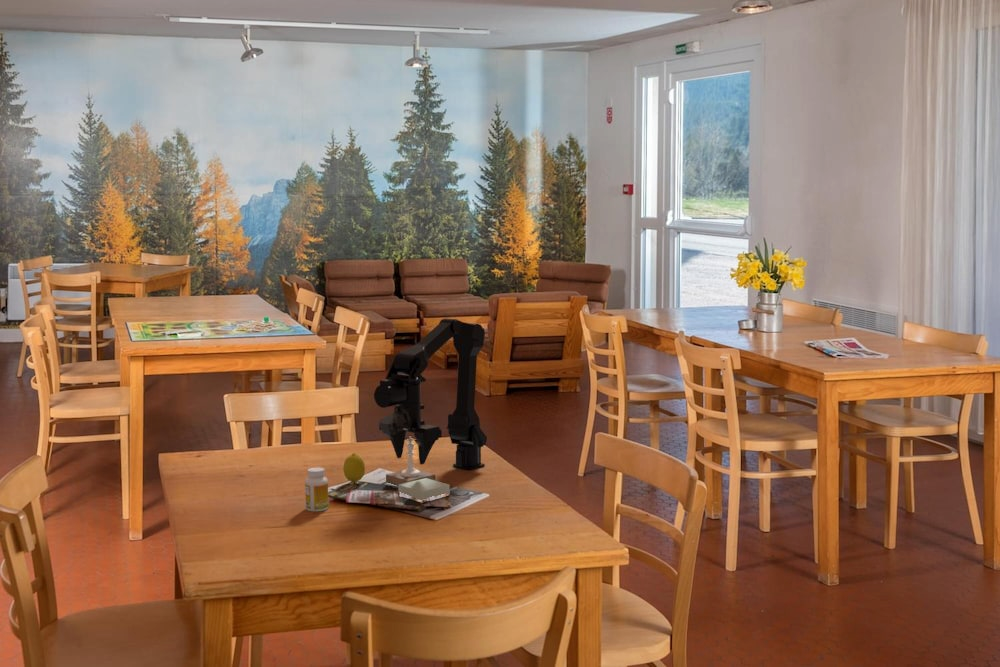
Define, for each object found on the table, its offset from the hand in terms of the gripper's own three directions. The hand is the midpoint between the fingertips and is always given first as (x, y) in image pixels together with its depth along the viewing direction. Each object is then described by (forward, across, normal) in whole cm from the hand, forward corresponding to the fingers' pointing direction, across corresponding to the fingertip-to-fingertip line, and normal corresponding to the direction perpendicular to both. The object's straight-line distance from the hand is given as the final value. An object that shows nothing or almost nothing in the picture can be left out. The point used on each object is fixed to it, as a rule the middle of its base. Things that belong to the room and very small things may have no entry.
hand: (410, 461), depth 284 cm
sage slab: (+6, +10, -4) cm, 13 cm away
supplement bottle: (+7, 0, -29) cm, 30 cm away
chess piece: (+4, 0, 0) cm, 4 cm away
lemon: (+7, -12, -9) cm, 16 cm away
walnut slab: (+6, 0, 0) cm, 6 cm away
